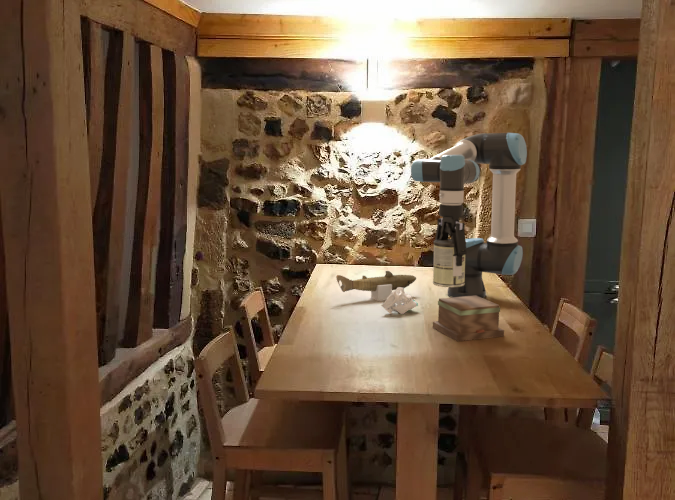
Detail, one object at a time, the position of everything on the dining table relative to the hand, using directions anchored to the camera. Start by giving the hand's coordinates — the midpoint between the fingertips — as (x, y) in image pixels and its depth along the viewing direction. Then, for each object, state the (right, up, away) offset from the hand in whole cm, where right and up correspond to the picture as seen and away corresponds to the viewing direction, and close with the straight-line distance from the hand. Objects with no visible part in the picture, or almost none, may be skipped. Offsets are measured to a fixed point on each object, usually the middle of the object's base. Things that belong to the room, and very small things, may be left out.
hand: (449, 272), depth 203 cm
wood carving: (-21, -12, +45) cm, 51 cm away
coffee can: (0, -4, +1) cm, 4 cm away
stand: (+6, -19, +2) cm, 20 cm away
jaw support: (-13, -15, +27) cm, 34 cm away
